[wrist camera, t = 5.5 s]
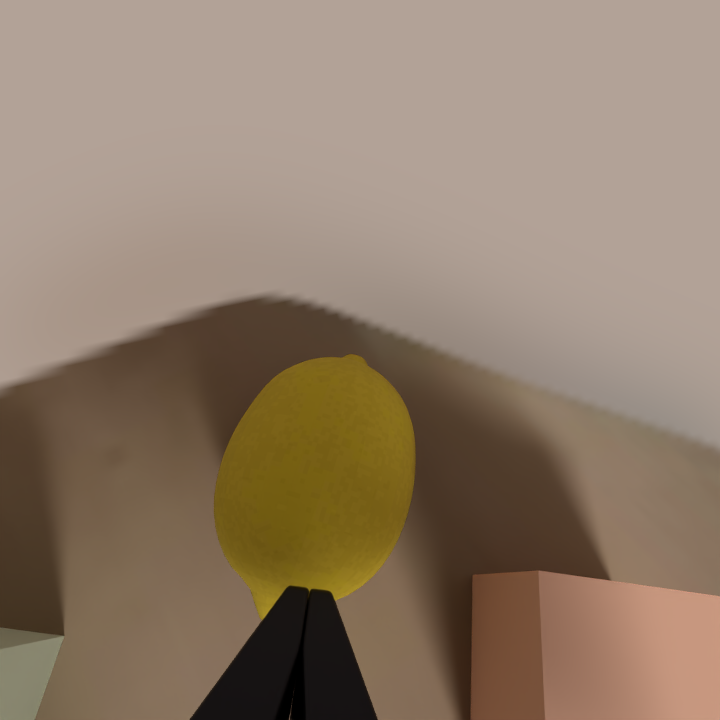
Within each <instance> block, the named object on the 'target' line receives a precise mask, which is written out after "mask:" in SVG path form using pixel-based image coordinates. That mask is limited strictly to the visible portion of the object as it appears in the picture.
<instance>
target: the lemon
mask: <svg viewBox="0 0 720 720" xmlns="http://www.w3.org/2000/svg"><path fill="white" fill-rule="evenodd" d="M415 462H416V456H415V437H414V431H413V425H412V422H411V419H410V416H409V413H408V410H407V408H406V405H405V403H404V402H403V400H402V398H401V396H400V395H399V394H398V392H397V391H396V390H395V388H394V387H393V386H392V385H391V384H390V383H389V382H388V381H387V380H386V379H385V378H384V377H383V376H382V375H381V374H380V373H378V372H377V371H375V370H374V369H372V368H370V367H369V366H368V365H367V363H366V361H365V360H364V359H363V358H362V357H360V356H358V355H354V354H348V355H346V356H344V357H342V358H339V357H323V358H316V359H311V360H307V361H304V362H301V363H299V364H296V365H294V366H292V367H290V368H288V369H286V370H284V371H282V372H281V373H279V374H278V375H277V376H275V377H274V378H273V379H272V380H271V381H270V382H269V383H268V384H267V385H266V386H265V387H264V388H263V389H262V391H261V392H260V393H259V394H258V395H257V397H256V398H255V400H254V401H253V402H252V404H251V405H250V406H249V408H248V409H247V411H246V412H245V414H244V415H243V417H242V419H241V420H240V422H239V424H238V425H237V427H236V429H235V431H234V432H233V435H232V437H231V439H230V441H229V443H228V445H227V448H226V450H225V453H224V456H223V459H222V462H221V465H220V469H219V473H218V477H217V482H216V488H215V496H214V518H215V527H216V531H217V535H218V540H219V543H220V545H221V548H222V550H223V553H224V555H225V557H226V558H227V560H228V562H229V563H230V565H231V567H232V568H233V569H234V570H235V571H236V572H237V573H238V574H239V575H240V577H241V578H242V579H243V580H244V582H245V583H246V584H247V586H248V587H249V588H250V590H251V593H252V596H253V600H254V603H255V606H256V608H257V611H258V614H259V617H260V619H262V620H263V619H264V617H265V616H266V615H267V613H268V612H269V610H270V609H271V608H272V606H273V605H274V604H275V602H276V601H277V600H278V598H279V597H280V595H281V594H282V593H283V591H284V590H285V589H286V588H287V587H288V586H290V585H293V586H300V587H306V588H308V589H309V592H310V590H311V589H313V588H314V589H321V590H328V591H330V592H331V593H332V594H333V597H334V599H335V600H338V599H340V598H342V597H344V596H347V595H349V594H351V593H352V592H354V591H355V590H357V589H358V588H360V587H361V586H362V585H364V584H365V583H366V582H367V581H368V580H369V579H370V578H371V577H373V576H374V574H375V573H376V572H377V571H378V570H379V569H380V568H381V566H382V565H383V564H384V562H385V561H386V559H387V558H388V556H389V555H390V554H391V552H392V550H393V548H394V546H395V544H396V542H397V540H398V538H399V536H400V533H401V531H402V529H403V526H404V523H405V520H406V517H407V514H408V511H409V507H410V503H411V499H412V493H413V487H414V478H415ZM308 597H309V596H308Z"/></svg>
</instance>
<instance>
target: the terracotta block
mask: <svg viewBox="0 0 720 720" xmlns="http://www.w3.org/2000/svg"><path fill="white" fill-rule="evenodd" d="M471 720H720V596H714V595H707V594H700V593H693V592H686V591H679V590H672V589H665V588H658V587H651V586H644V585H637V584H630V583H623V582H616V581H609V580H602V579H595V578H588V577H581V576H574V575H567V574H560V573H553V572H546V571H539V570H538V571H522V572H507V573H492V574H477V575H473V584H472V657H471Z"/></svg>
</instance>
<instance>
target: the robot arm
mask: <svg viewBox="0 0 720 720" xmlns="http://www.w3.org/2000/svg"><path fill="white" fill-rule="evenodd" d="M308 596H309V597H308ZM294 686H295V687H294ZM293 692H294V693H293ZM292 699H293V700H292ZM291 705H292V706H291ZM290 711H291V714H290ZM289 716H290V720H378V719H377V716H376V713H375V711H374V708H373V705H372V702H371V699H370V697H369V694H368V691H367V688H366V686H365V683H364V680H363V677H362V674H361V672H360V669H359V666H358V663H357V661H356V658H355V655H354V652H353V649H352V647H351V644H350V641H349V638H348V636H347V633H346V630H345V627H344V624H343V622H342V619H341V616H340V613H339V611H338V608H337V605H336V602H335V599H334V597H333V594H332V593H331V592H330V591H328V590H321V589H314V588H313V589H311V590H310V592H309V589H308V588H306V587H300V586H293V585H290V586H288V587H287V588H286V589H285V590H284V591H283V593H282V594H281V595H280V597H279V598H278V600H277V601H276V602H275V604H274V605H273V606H272V608H271V609H270V610H269V612H268V613H267V615H266V616H265V617H264V619H263V620H262V621H261V623H260V624H259V625H258V627H257V628H256V630H255V631H254V632H253V634H252V635H251V636H250V638H249V639H248V641H247V642H246V643H245V645H244V646H243V647H242V649H241V650H240V651H239V653H238V654H237V656H236V657H235V658H234V660H233V661H232V662H231V664H230V665H229V666H228V668H227V669H226V671H225V672H224V673H223V675H222V676H221V677H220V679H219V680H218V681H217V683H216V684H215V686H214V687H213V688H212V690H211V691H210V692H209V694H208V695H207V697H206V698H205V699H204V701H203V702H202V703H201V705H200V706H199V707H198V709H197V710H196V712H195V713H194V714H193V716H192V717H191V718H190V720H289Z"/></svg>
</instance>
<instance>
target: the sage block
mask: <svg viewBox="0 0 720 720" xmlns="http://www.w3.org/2000/svg"><path fill="white" fill-rule="evenodd" d="M63 638H64V636H61V635H54V634H46V633H39V632H31V631H24V630H16V629H8V628H1V627H0V720H35V718H36V715H37V712H38V709H39V706H40V703H41V701H42V698H43V695H44V692H45V689H46V686H47V684H48V681H49V678H50V675H51V672H52V669H53V667H54V664H55V661H56V658H57V655H58V652H59V650H60V647H61V644H62V641H63Z"/></svg>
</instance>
